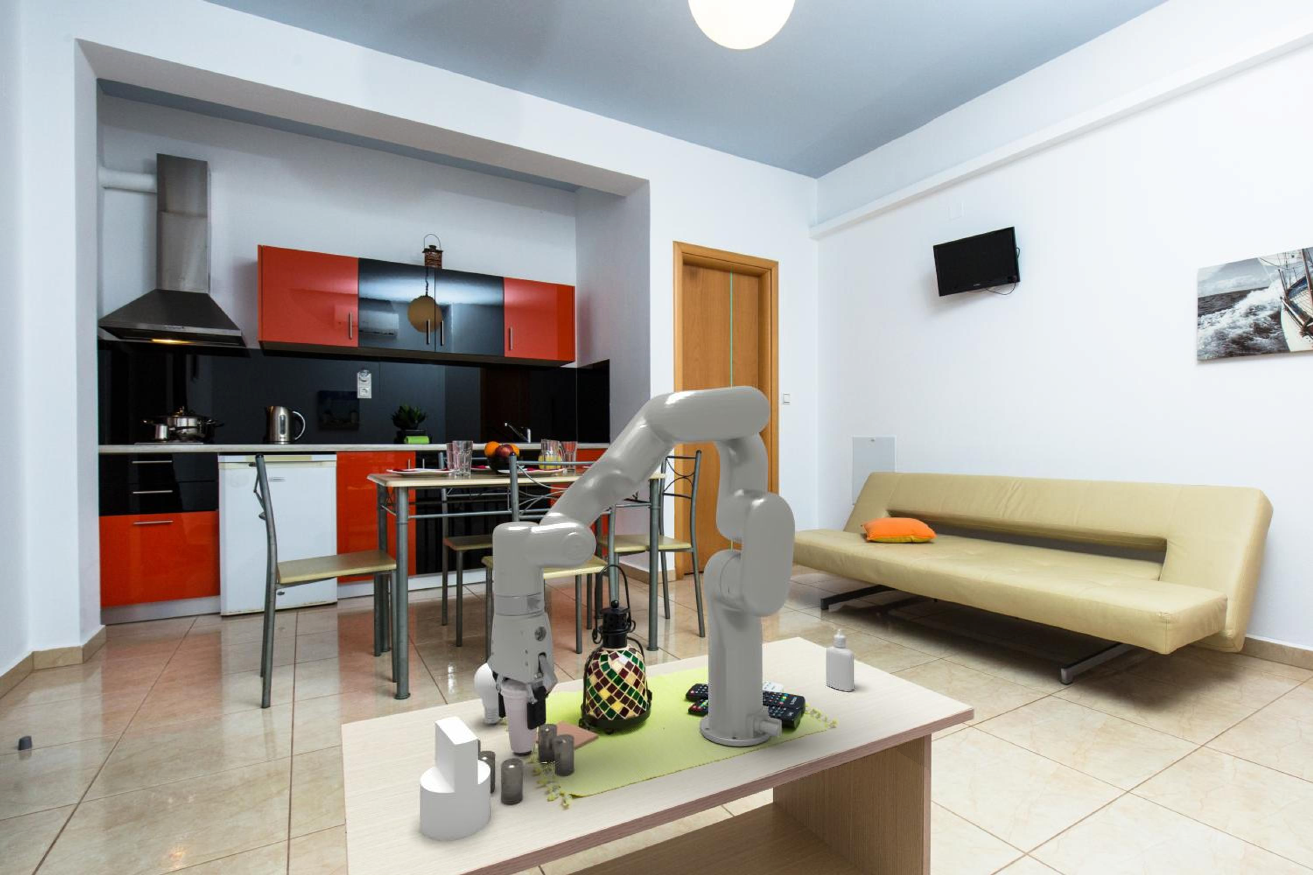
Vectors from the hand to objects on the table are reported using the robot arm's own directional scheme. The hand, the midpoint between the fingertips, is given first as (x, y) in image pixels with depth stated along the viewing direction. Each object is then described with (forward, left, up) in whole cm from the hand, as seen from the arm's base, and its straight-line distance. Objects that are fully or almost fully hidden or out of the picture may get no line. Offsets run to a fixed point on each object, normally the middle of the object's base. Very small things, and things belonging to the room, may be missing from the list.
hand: (522, 719), depth 98 cm
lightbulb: (+18, -8, -8) cm, 22 cm away
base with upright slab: (-3, +13, -8) cm, 16 cm away
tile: (+4, -12, -8) cm, 15 cm away
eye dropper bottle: (-24, -64, -8) cm, 69 cm away
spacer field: (0, +1, -8) cm, 8 cm away
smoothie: (0, 0, -4) cm, 4 cm away
